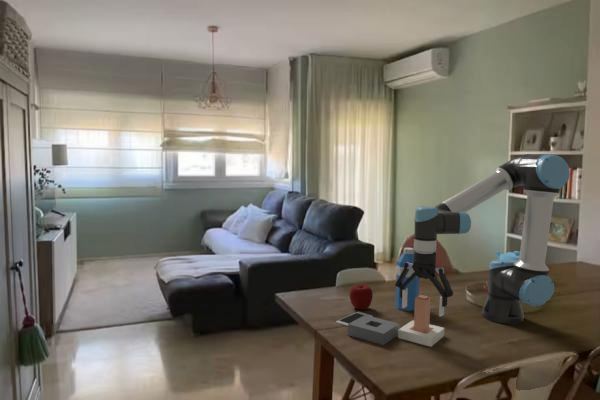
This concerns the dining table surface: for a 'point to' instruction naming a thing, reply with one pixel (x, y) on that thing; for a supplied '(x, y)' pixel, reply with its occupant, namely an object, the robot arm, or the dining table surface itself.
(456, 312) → the dining table surface
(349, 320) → the smartphone
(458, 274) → the dining table surface
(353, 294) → the apple
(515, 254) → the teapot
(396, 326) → the grey flat block
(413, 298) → the water bottle
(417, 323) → the plug
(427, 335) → the white square frame
